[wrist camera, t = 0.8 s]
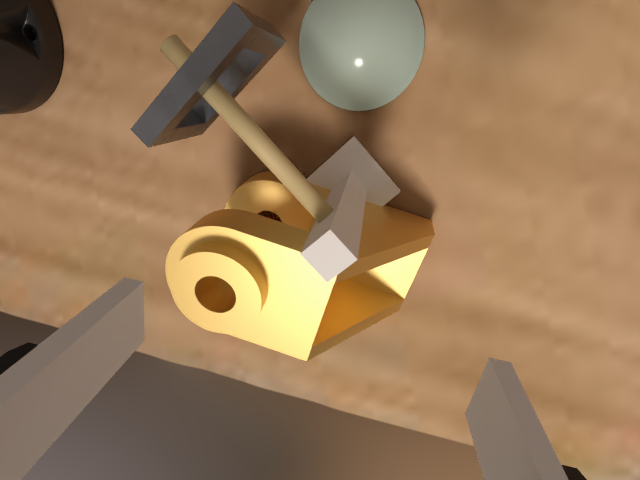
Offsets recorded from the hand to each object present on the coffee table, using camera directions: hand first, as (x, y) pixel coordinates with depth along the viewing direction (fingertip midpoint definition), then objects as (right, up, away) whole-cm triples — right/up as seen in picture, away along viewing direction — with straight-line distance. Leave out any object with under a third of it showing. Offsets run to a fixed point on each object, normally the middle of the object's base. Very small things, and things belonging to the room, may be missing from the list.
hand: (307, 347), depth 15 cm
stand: (-1, +14, +23) cm, 27 cm away
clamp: (+1, +5, +27) cm, 27 cm away
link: (-6, +16, +16) cm, 23 cm away
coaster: (+4, +21, +20) cm, 29 cm away
